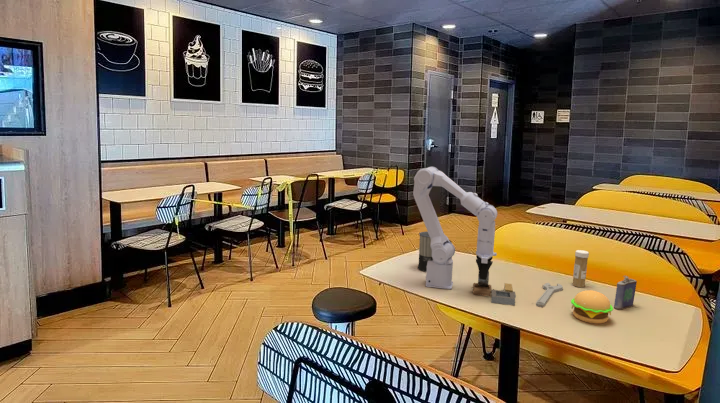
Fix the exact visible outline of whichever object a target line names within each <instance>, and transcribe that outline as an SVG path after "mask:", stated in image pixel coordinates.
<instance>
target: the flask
mask: <svg viewBox="0 0 720 403" xmlns="http://www.w3.org/2000/svg"><path fill="white" fill-rule="evenodd" d="M622 277H623V280H621V281H618V282H617V283H616V288H615V289H616V291H615V298H614V303H613V304H614V305H613V309H615V310H618V311H619V310H624V309H627V308H630V307H634V300H635V296H636V288H637V284H638V283H637V280H636V279H633V278H629V276H627V275H623V276H622Z"/></svg>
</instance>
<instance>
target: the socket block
mask: <svg viewBox="0 0 720 403" xmlns="http://www.w3.org/2000/svg"><path fill="white" fill-rule="evenodd" d="M516 297H517V295H516V291H514V290H513V292H509V291H504V289H503V290H502V289H501V290H500V289H491V296H490V303H491V304H502V305H507V306H515V304H516Z"/></svg>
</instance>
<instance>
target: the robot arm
mask: <svg viewBox="0 0 720 403" xmlns="http://www.w3.org/2000/svg"><path fill="white" fill-rule="evenodd" d="M413 181H414V185H413V192H412V193H413V194H412V196H413V198H414V201H415V204H416V205H417V208H418V210H419V213H420V216H421V218H422V220H423V223H424V225H425V229H426V232H428V233H429V236H430V239H431V245H430V246H431V249H432V258H433V261H428V262H427V272H426V271H425V272H426V273H425V287H427V288H434V289H435V288H436V289H445V290H452V289H453V285H454V281H453V280H452V279H453V266H454V263H453V262H454V261H453V259H452V258H453V256H455V253H456V248H455V245H454V244H453V242H452V241H451V240H450V239H449V237H448V236H447V235H446V234H445V233H444V231H443V227H442V225H441V222H440V220H439V218H438V215H437V212H436V210H435V208H434V206H433V203H432V200H431V197H430V196H429V195H430V193H431V190H432V188H433V187H442V188H443V189H445V190H446V191H447V192H449V193H450V194H452V195H454V196H455V197H456V198H457V199H459V200H460V205H461V206H462V207H464V208H465V209H466V210H467V211H468V212H470V213H471V214H472V215H474V216H476V218H477V220H478V226H477V240H476V241H477V242H476V251H475V255H476V258H475V263H476V265H477V268H478V274H479V277H480V279H482V280H486V278H487V275H488V271H489V272H490V268H491V266H492V265H493V261H492V260H493V259H494V258H493V257H496V256H497V255H498V254H497V252H494V249H495V248H494V246H495V235H496V219H497V217H498V210H497V208H495V206H494V205H492V204H490V203H489V202H487V201H484V200H483V199H481V197H479V195H478V193H476V192H472V191H468V192H467V191H466V190H464V189H463V188H462V187H461V186H459V185H458V184H457V183H456V182H455V181H453V180H452V179H451V178H450V177H449V176H447V175H446V174H445V173H444V172H443V171H442V170H439V169H438V168H437V167H435V166H428V167H425V168H420V169H419V170H418V171H416V174H415V176H414V177H413ZM449 240H450V241H451V242H452V243H451V242H450V241H449Z"/></svg>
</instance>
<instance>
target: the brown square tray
mask: <svg viewBox="0 0 720 403" xmlns="http://www.w3.org/2000/svg"><path fill="white" fill-rule="evenodd" d="M491 291H492V285H491V284H489V283H488V287H480V286H478V282H473V283H472V294H473V296H474V295H476V296H482V297H483V296H485V297H491Z"/></svg>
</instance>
